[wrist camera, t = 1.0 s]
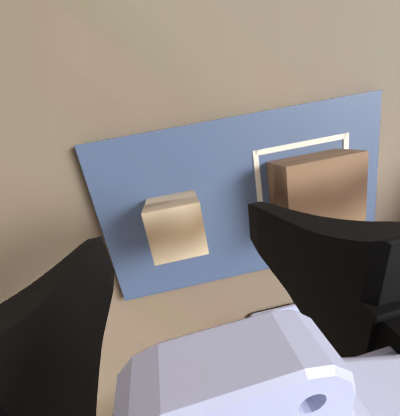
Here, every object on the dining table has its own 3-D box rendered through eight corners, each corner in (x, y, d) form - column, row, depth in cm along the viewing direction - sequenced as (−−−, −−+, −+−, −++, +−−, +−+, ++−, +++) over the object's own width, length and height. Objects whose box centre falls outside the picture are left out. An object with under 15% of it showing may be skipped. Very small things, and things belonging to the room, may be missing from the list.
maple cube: (202, 232, 24) (209, 253, 20) (157, 242, 24) (154, 265, 19) (193, 189, 22) (199, 202, 18) (146, 199, 22) (141, 214, 18)
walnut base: (335, 215, 25) (365, 229, 21) (272, 229, 25) (291, 246, 21) (335, 148, 23) (368, 150, 19) (266, 161, 23) (286, 167, 19)
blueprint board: (367, 241, 28) (374, 244, 27) (126, 296, 26) (124, 301, 25) (374, 91, 23) (382, 89, 22) (77, 145, 21) (73, 145, 20)
